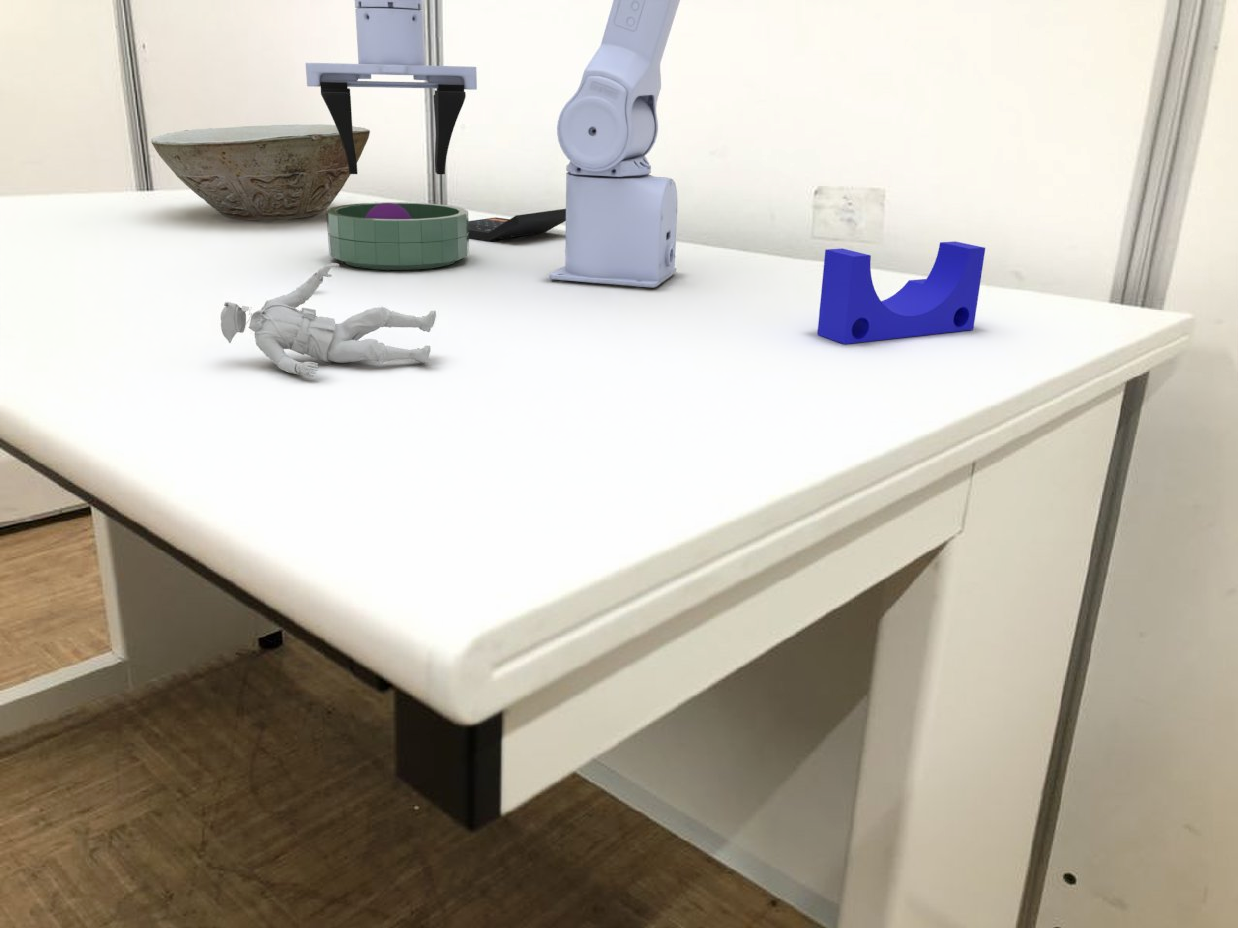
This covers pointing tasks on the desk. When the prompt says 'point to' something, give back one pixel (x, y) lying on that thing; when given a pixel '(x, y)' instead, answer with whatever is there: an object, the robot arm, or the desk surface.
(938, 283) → the blue pipe saddle bracket
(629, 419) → the desk surface
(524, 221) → the calculator
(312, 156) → the bowl
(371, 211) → the ball
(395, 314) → the soldier figure
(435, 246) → the green bowl
